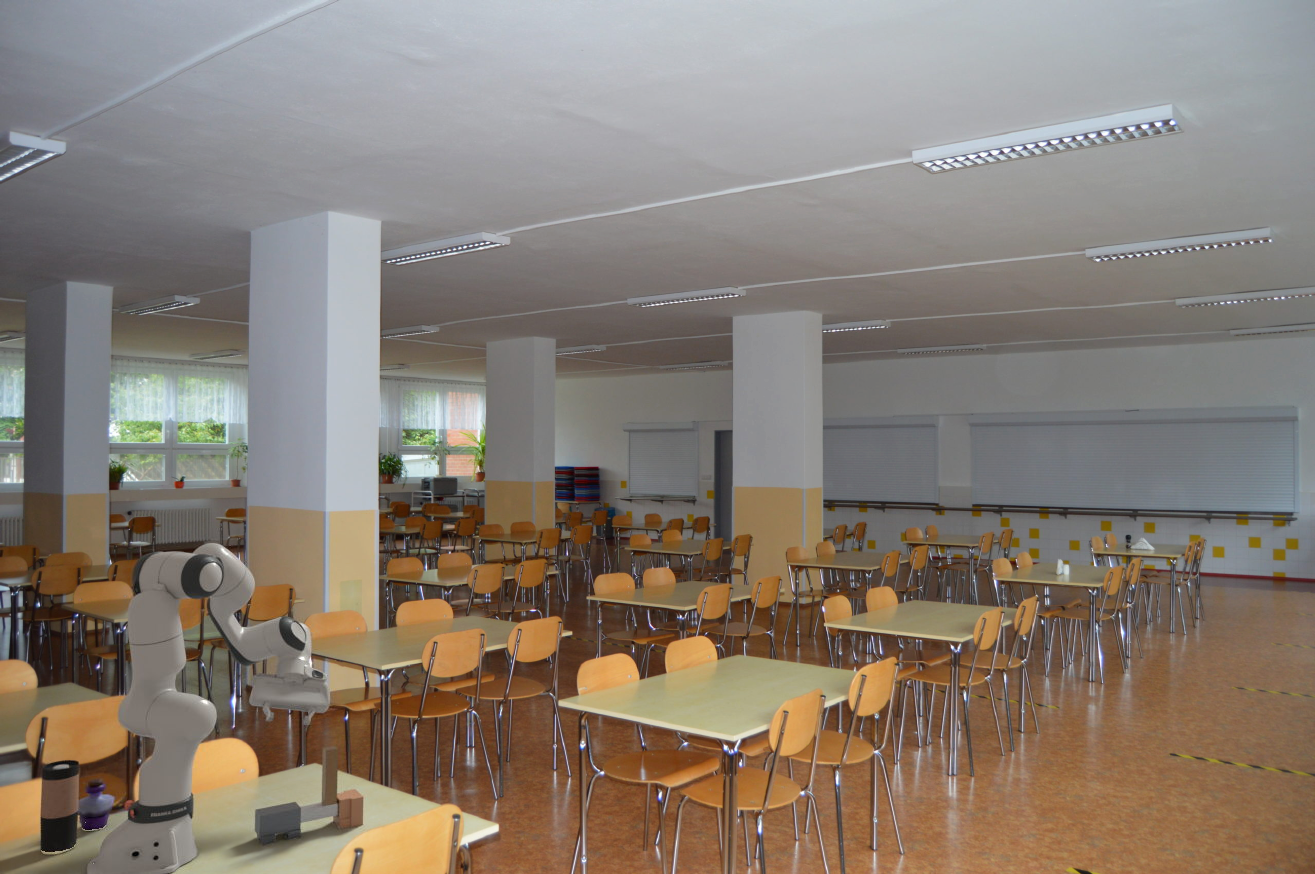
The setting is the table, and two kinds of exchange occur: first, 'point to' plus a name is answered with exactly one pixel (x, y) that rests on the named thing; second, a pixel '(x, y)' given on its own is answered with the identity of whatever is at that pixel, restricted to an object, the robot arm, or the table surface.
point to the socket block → (349, 809)
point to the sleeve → (278, 822)
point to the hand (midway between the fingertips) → (288, 721)
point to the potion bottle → (95, 806)
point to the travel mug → (59, 805)
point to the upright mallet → (325, 789)
